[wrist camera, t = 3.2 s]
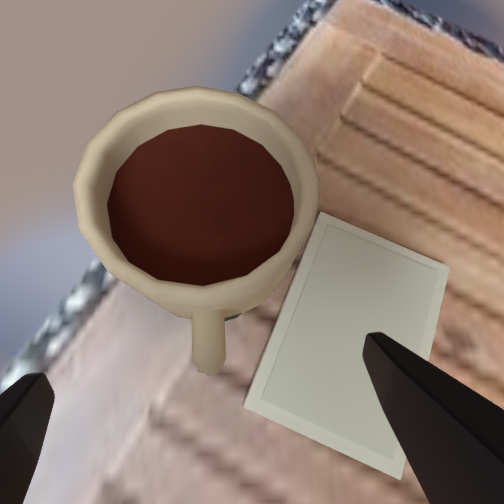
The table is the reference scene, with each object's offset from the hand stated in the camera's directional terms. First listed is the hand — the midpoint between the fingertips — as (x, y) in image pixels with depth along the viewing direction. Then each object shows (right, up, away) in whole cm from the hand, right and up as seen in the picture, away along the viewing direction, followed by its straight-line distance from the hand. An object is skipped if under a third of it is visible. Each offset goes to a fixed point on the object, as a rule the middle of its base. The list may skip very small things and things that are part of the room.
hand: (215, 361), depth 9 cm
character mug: (-2, +1, +13) cm, 13 cm away
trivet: (+8, -2, +12) cm, 15 cm away
